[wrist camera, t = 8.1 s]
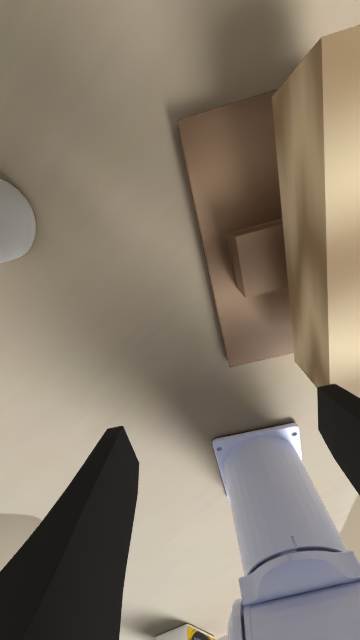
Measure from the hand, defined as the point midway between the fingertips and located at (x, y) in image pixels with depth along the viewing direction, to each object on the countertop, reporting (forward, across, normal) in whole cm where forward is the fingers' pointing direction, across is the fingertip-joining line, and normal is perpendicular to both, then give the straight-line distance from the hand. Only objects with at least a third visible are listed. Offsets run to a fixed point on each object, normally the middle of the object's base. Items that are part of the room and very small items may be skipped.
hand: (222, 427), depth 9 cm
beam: (+7, -7, -4) cm, 11 cm away
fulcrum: (+10, -7, -4) cm, 13 cm away
